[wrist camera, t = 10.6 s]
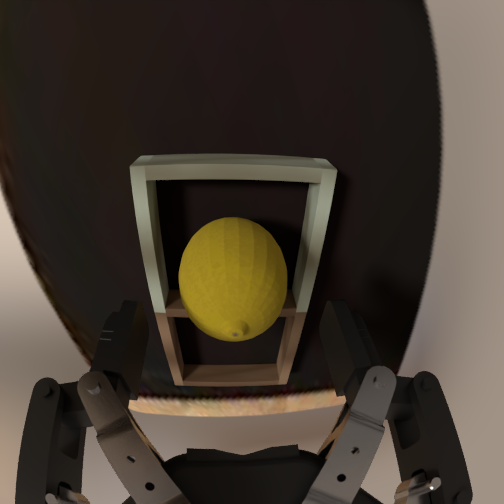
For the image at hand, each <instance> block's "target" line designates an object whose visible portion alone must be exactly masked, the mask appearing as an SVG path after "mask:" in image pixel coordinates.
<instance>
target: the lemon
mask: <svg viewBox="0 0 504 504" xmlns="http://www.w3.org/2000/svg"><path fill="white" fill-rule="evenodd" d="M179 287H180V295H181V300H182V303H183V306H184V308H185V310H186V312H187V314H188V316H189V318H190V319H191V320H192V322H193V323H194V324H195V325H196V326H197V327H198V328H199V329H200V330H202V331H203V332H205V333H206V334H208V335H210V336H212V337H215V338H217V339H220V340H225V341H243V340H247V339H250V338H253V337H255V336H257V335H259V334H261V333H263V332H264V331H265V330H267V329H268V328H269V327H270V326H271V325H272V324H273V323H274V322H275V320H276V319H277V318H278V316H279V315H280V313H281V310H282V307H283V305H284V302H285V299H286V293H287V268H286V264H285V261H284V258H283V254H282V251H281V249H280V247H279V246H278V244H277V243H276V241H275V240H274V238H273V237H272V235H271V234H270V233H269V232H268V231H267V230H265V229H264V228H263V227H262V226H260V225H259V224H257V223H255V222H253V221H250V220H248V219H243V218H238V217H227V218H222V219H218V220H214V221H212V222H210V223H209V224H207V225H205V226H203V227H202V228H201V229H200V230H199V231H198V232H197V233H196V234H195V235H194V236H193V237H192V238H191V240H190V242H189V243H188V245H187V247H186V249H185V250H184V253H183V256H182V260H181V264H180V269H179Z"/></svg>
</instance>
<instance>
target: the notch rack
mask: <svg viewBox="0 0 504 504" xmlns="http://www.w3.org/2000/svg"><path fill="white" fill-rule="evenodd" d="M130 174H131V183H132V191H133V199H134V206H135V214H136V220H137V227H138V233H139V239H140V245H141V250H142V256H143V261H144V266H145V271H146V276H147V281H148V285H149V290H150V294H151V299H152V303H153V307H154V311H155V315H156V319H157V323H158V327H159V331H160V335H161V338H162V342H163V346H164V349H165V353H166V356H167V360H168V363H169V366H170V370H171V373H172V376H173V379H174V382H175V385H187V386H257V385H276V384H286V383H287V380H288V377H289V373H290V370H291V367H292V364H293V360H294V357H295V353H296V350H297V346H298V343H299V339H300V336H301V332H302V328H303V325H304V321H305V317H306V313H307V310H308V306H309V302H310V298H311V294H312V290H313V286H314V282H315V277H316V273H317V269H318V265H319V260H320V256H321V251H322V247H323V242H324V237H325V233H326V228H327V223H328V218H329V213H330V208H331V203H332V197H333V192H334V186H335V181H336V175H337V169H336V168H335V167H334V166H332V165H331V164H330V163H329V162H328V161H327V160H326V159H317V158H305V157H292V156H276V155H253V154H173V155H151V156H140V157H139V158H138V159H137V160H136V161H135V162H134V163H133V164H132V165H131V166H130ZM178 179H244V180H275V181H296V182H309V189H308V196H307V202H306V209H305V215H304V222H303V228H302V234H301V240H300V246H299V252H298V258H297V263H296V269H295V274H294V280H293V285H292V289H287V293H286V299H285V302H284V305H283V307H282V310H281V313H280V315H279V316H278V317H286V321H285V326H284V331H283V336H282V341H281V345H280V350H279V355H278V359H277V363H275V364H250V365H195V364H184V362H183V358H182V353H181V349H180V344H179V339H178V335H177V330H176V325H175V319H174V317H189V316H188V314H187V312H186V310H185V308H184V306H183V303H182V300H181V295H180V289H169V286H168V280H167V273H166V267H165V260H164V253H163V245H162V238H161V230H160V221H159V212H158V202H157V191H156V180H178Z"/></svg>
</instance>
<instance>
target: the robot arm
mask: <svg viewBox="0 0 504 504" xmlns="http://www.w3.org/2000/svg"><path fill="white" fill-rule="evenodd" d="M319 334H320V338H321V342H322V345H323V349H324V352H325V356H326V359H327V363H328V366H329V370H330V373H331V377H332V381H333V384H334V388H335V392H336V395H337V397H338V396H344V395H345V397H346V402H345V404H344V406H343V409H342V410H341V412H340V414H339V417H338V418H337V420H336V422H335V424H334V426H333V428H332V430H331V432H330V434H329V435H328V437H327V438H326V440H325V441H324V443H323V444H322V446H321V447H320V449H319V451H318V452H317V454H314V453H311V452H309V451H304V450H299V449H298V444H297V445H288V446H279V447H270V448H267V449H264V450H260V451H257V452H254V453H250V454H247V455H238V454H234V453H228V452H224V451H220V450H215V449H190V448H187V453H186V454H182V455H178V456H175V457H173V458H171V459H169V460H167V461H164V460H163V458H162V457H161V456H160V454H159V453H158V452H157V450H156V449H155V448H154V446H153V445H152V444H151V442H150V441H149V440H148V438H147V437H146V435H145V434H144V432H143V431H142V429H141V428H140V426H139V425H138V423H137V422H136V420H135V418H134V417H133V415H132V414H131V412H130V410H129V409H128V405H129V399H130V400H137V399H138V392H139V386H140V380H141V374H142V368H143V363H144V357H145V352H146V347H147V342H148V337H149V326H148V322H147V319H146V315H145V312H144V308H143V305H142V302H141V301H128V300H124V301H123V303H122V306H121V309H120V312H113V313H112V314H111V315H110V316H109V317H108V319H107V320H106V322H105V325H104V328H103V332H102V334H101V337H100V340H99V343H98V346H97V349H96V352H95V356H94V359H93V362H92V366H91V369H90V371H89V372H87V373H85V374H84V375H83V376H82V377H81V378H80V379H79V381H76V382H72V383H64V384H58V383H57V381H56V380H54V379H52V378H43V379H41V380H39V381H38V382H37V383H36V384H35V386H34V388H33V392H32V396H31V399H30V403H29V408H28V412H27V417H26V421H25V426H24V431H23V436H22V442H21V448H20V455H19V462H18V470H17V481H16V495H15V504H90V502H89V501H88V499H87V498H86V497H85V496H83V495H82V494H81V488H82V468H83V456H84V445H85V436H86V428H87V427H91V426H94V428H95V430H96V432H97V436H96V437H97V441H98V443H99V445H100V446H101V448H102V450H103V452H104V454H105V456H106V457H107V459H108V461H109V463H110V464H111V466H112V468H113V469H114V471H115V472H116V474H117V476H118V477H119V479H120V480H121V482H122V483H123V485H124V486H125V488H126V489H127V490H128V492H129V494H130V495H131V496H130V497H129V498H128V499H126V500H125V501H124V502H123V503H122V504H383V503H381V502H380V501H378V500H377V499H376V498H374V497H373V496H372V495H370V494H369V493H367V492H366V491H364V490H363V489H362V488H361V487H360V486H361V484H362V482H363V480H364V478H365V476H366V474H367V472H368V469H369V467H370V465H371V463H372V461H373V458H374V456H375V454H376V451H377V449H378V447H379V444H380V442H381V439H382V437H383V434H384V431H385V427H384V426H383V422H384V419H387V420H388V423H389V427H390V431H391V435H392V439H393V443H394V448H395V452H396V457H397V461H398V465H399V471H400V476H401V481H402V483H401V484H400V485H399V486H398V487H397V489H396V492H395V496H394V498H395V503H394V504H471V501H472V497H473V493H472V488H471V483H470V479H469V474H468V471H467V466H466V462H465V458H464V455H463V452H462V448H461V444H460V441H459V438H458V435H457V431H456V429H455V425H454V422H453V419H452V416H451V413H450V410H449V407H448V404H447V402H446V399H445V396H444V394H443V391H442V389H441V386H440V383H439V381H438V379H437V378H436V376H435V375H433V374H432V373H430V372H427V371H422V372H419V373H418V374H417V375H416V376H415V377H414V378H410V377H401V376H396V375H394V373H393V372H392V371H391V370H390V369H388V368H386V367H384V366H383V365H382V363H381V361H380V358H379V356H378V353H377V351H376V348H375V346H374V343H373V341H372V339H371V337H370V334H369V332H368V330H367V327H366V325H365V322H364V320H363V318H362V317H361V316H360V315H359V314H358V313H357V312H356V311H350V310H349V308H348V305H347V303H346V301H345V300H329V301H327V302H326V305H325V308H324V312H323V315H322V318H321V321H320V324H319Z"/></svg>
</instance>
